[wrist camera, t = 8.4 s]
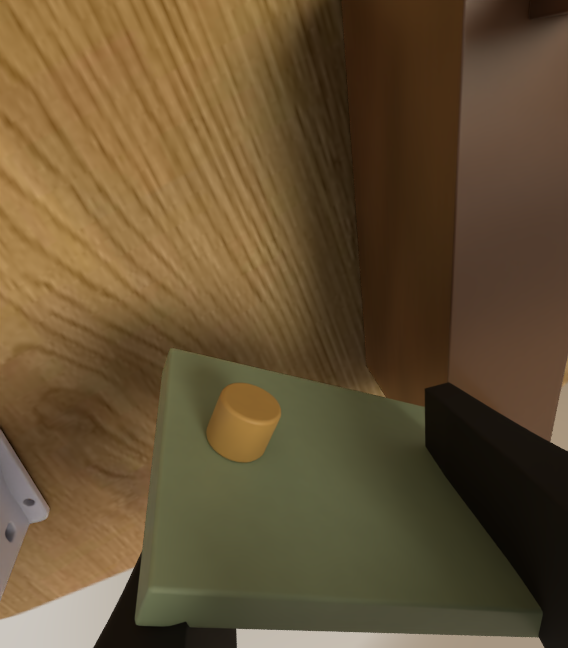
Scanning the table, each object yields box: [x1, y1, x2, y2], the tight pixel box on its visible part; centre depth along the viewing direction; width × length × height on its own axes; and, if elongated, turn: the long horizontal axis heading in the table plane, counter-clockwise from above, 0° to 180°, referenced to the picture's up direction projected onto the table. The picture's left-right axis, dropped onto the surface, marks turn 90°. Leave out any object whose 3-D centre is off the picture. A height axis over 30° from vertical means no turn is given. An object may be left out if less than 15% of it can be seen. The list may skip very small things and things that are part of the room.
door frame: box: [341, 0, 568, 442], centre depth 12 cm, size 16×4×15 cm, turn 9°
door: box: [135, 348, 543, 637], centre depth 10 cm, size 12×2×6 cm, turn 68°
